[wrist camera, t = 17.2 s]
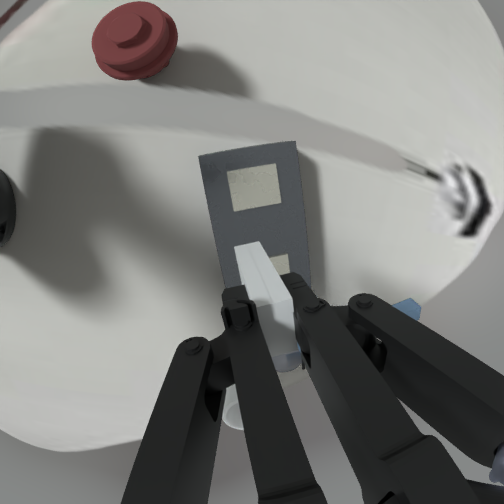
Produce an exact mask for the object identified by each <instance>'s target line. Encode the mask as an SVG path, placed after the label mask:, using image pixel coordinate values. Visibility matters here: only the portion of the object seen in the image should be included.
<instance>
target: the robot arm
mask: <svg viewBox="0 0 504 504" xmlns="http://www.w3.org/2000/svg"><path fill="white" fill-rule="evenodd" d="M15 217H16V208H15V199H14V194H13V191H12V188H11V185H10V183H9V181H8V179H7V177H6V176H5V174H4V173H3V172H2V171H1V170H0V247H2V246H3V245H4V244H6V243H7V242H8V240H9V239H10V237H11V235H12V232H13V229H14V225H15ZM234 249H235V254H236V259H237V264H238V268H239V273H240V278H241V282H242V285H239V286H235V287H231V288H226V289H225V290H224V291H223V293H222V301H223V307H222V308H221V315H222V318H223V322H224V325H225V331H224V332H223V333H222V334H221V335H220V336H219V337H217V338H215V339H213V340H211V341H208V340H207V339H206V338H203V337H192V338H189V339H186V340H184V341H183V342H182V343H180V344H179V346H178V347H177V349H176V352H175V354H174V357H173V359H172V362H171V364H170V367H169V370H168V372H167V375H166V377H165V380H164V383H163V385H162V388H161V390H160V393H159V396H158V398H157V401H156V404H155V406H154V409H153V412H152V414H151V417H150V420H149V423H148V425H147V428H146V431H145V434H144V436H143V439H142V442H141V445H140V448H139V451H138V454H137V456H136V459H135V462H134V465H133V468H132V471H131V474H130V477H129V480H128V483H127V486H126V489H125V492H124V495H123V498H122V502H121V504H207V503H208V497H209V491H210V485H211V480H212V473H213V468H214V461H215V456H216V449H217V444H218V438H219V432H220V426H221V420H222V415H223V409H224V403H225V397H226V388H227V387H229V386H231V385H233V384H235V386H236V392H237V397H238V402H239V408H240V413H241V418H242V423H243V428H244V433H245V438H246V443H247V447H248V452H249V457H250V461H251V466H252V470H253V475H254V479H255V483H256V488H257V492H258V504H327V501H326V498H325V496H324V493H323V491H322V489H321V487H320V486H319V485H318V484H317V482H316V480H315V477H314V474H313V472H312V469H311V466H310V464H309V461H308V458H307V456H306V453H305V450H304V447H303V445H302V442H301V439H300V437H299V434H298V431H297V428H296V425H295V423H294V420H293V417H292V414H291V412H290V409H289V406H288V403H287V400H286V397H285V395H284V392H283V389H282V386H281V383H280V380H279V378H278V375H277V372H276V369H275V366H274V363H273V360H272V358H271V357H274V356H277V355H281V354H285V353H289V352H292V351H296V350H298V346H297V342H298V344H299V347H300V350H301V361H302V370H303V369H305V367H306V369H307V371H308V373H309V375H310V377H311V380H312V381H313V384H314V386H315V388H316V390H317V392H318V395H319V397H320V399H321V401H322V403H323V405H324V408H325V410H326V412H327V414H328V416H329V418H330V421H331V423H332V425H333V427H334V429H335V431H336V434H337V436H338V438H339V440H340V442H341V444H342V446H343V449H344V451H345V453H346V455H347V457H348V460H349V462H350V464H351V466H352V468H353V470H354V473H355V475H356V477H357V479H358V481H359V483H360V486H361V489H362V496H363V501H364V504H504V486H497V485H492V484H486V483H481V482H476V481H472V480H467V479H465V478H464V476H463V474H462V473H461V471H460V470H459V468H458V467H457V466H456V464H455V463H454V461H453V459H452V458H451V456H450V455H449V453H448V452H447V450H446V449H445V447H444V446H443V445H442V443H441V442H440V441H439V440H438V439H437V438H436V437H434V436H433V435H424V434H422V433H421V432H420V431H419V429H418V428H417V427H416V425H415V424H414V422H413V421H412V419H411V418H410V416H409V415H408V413H407V412H406V410H405V409H404V408H403V406H402V405H401V403H400V402H399V400H398V399H400V400H401V401H402V402H403V403H404V404H405V405H407V406H408V407H409V408H410V409H411V410H412V411H414V412H415V413H416V414H417V415H418V416H420V417H421V418H422V419H423V420H424V421H425V422H427V423H428V424H429V425H430V426H431V427H433V428H434V429H435V430H436V431H437V432H439V433H440V434H441V435H442V436H443V437H445V438H446V439H447V440H448V441H449V442H451V443H452V444H453V445H454V446H456V447H457V448H458V449H459V450H460V451H462V452H463V453H464V454H465V455H467V456H468V457H469V458H471V459H472V460H474V461H476V462H478V463H479V464H481V465H483V466H487V467H490V468H492V470H491V472H490V474H489V479H490V480H491V482H494V483H495V482H500V483H502V484H503V485H504V376H503V375H502V374H500V373H499V372H497V371H496V370H494V369H493V368H491V367H489V366H488V365H486V364H485V363H483V362H482V361H480V360H479V359H477V358H475V357H474V356H472V355H470V354H469V353H468V352H466V351H464V350H463V349H461V348H460V347H458V346H456V345H455V344H453V343H452V342H450V341H449V340H447V339H445V338H444V337H442V336H441V335H439V334H437V333H436V332H434V331H433V330H431V329H429V328H428V327H426V326H425V325H423V324H421V323H420V322H418V321H416V320H415V319H413V318H411V317H410V316H408V315H406V314H405V313H403V312H402V311H400V310H398V309H397V308H395V307H393V306H392V305H390V304H388V303H387V302H385V301H383V300H382V299H380V298H378V297H377V296H374V295H372V294H366V293H362V294H357V295H354V296H353V297H351V298H350V300H349V302H348V306H330V305H329V303H328V302H326V301H325V300H323V299H320V298H317V297H316V295H315V294H314V293H313V291H312V290H311V289H310V287H309V286H308V284H307V283H306V282H305V280H304V279H303V278H302V276H301V275H299V274H297V273H295V272H291V273H287V274H283V275H279V274H278V273H277V271H276V269H275V267H274V266H273V264H272V262H271V261H270V259H269V257H268V256H267V254H266V252H265V250H264V249H263V247H262V245H261V244H260V242H259V241H258V242H253V243H249V244H244V245H240V246H235V247H234ZM377 338H378V339H380V340H381V341H382V342H381V341H379V340H378V339H377ZM397 398H398V399H397Z"/></svg>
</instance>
